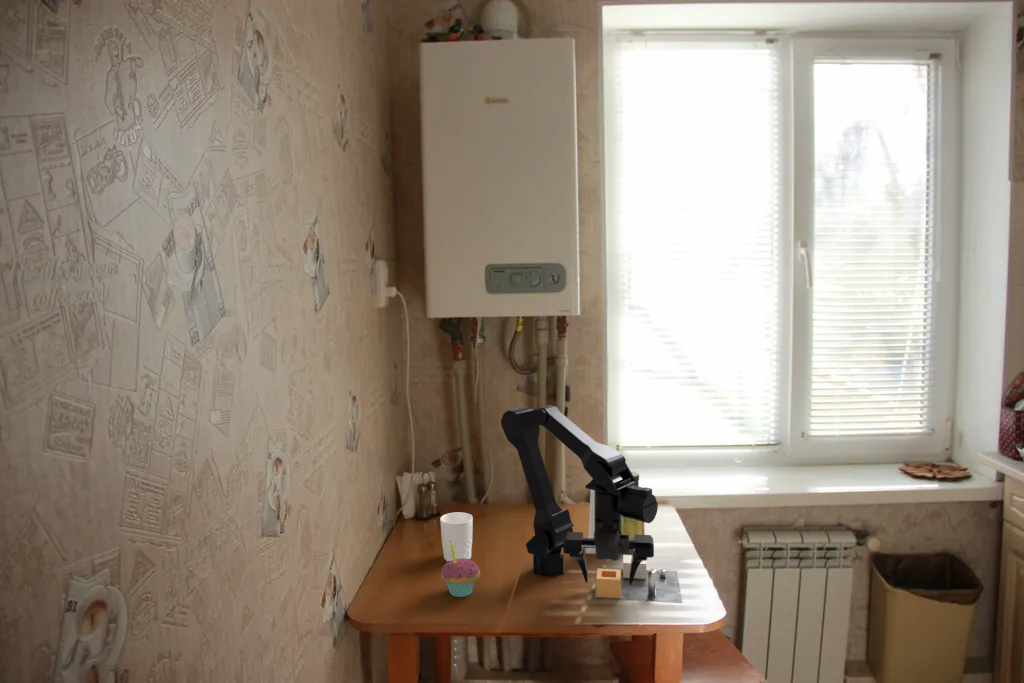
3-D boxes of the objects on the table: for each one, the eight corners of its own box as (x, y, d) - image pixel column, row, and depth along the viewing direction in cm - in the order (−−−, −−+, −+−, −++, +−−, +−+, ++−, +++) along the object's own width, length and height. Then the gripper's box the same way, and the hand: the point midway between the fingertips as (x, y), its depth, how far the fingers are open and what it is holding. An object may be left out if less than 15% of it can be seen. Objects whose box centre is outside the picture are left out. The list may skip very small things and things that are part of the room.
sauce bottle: (627, 544, 180) (627, 467, 178) (649, 550, 176) (649, 472, 174) (613, 552, 175) (613, 474, 173) (636, 559, 171) (636, 478, 169)
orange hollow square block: (596, 596, 150) (596, 578, 149) (597, 586, 154) (597, 568, 154) (620, 598, 149) (620, 579, 148) (620, 587, 154) (620, 569, 153)
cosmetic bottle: (599, 546, 179) (599, 461, 177) (616, 554, 174) (615, 466, 172) (581, 552, 176) (580, 465, 173) (597, 560, 171) (596, 471, 168)
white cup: (459, 548, 180) (458, 509, 179) (480, 556, 174) (479, 517, 173) (434, 557, 174) (433, 518, 173) (455, 567, 169) (454, 526, 168)
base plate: (594, 603, 149) (593, 574, 149) (596, 572, 164) (596, 546, 163) (682, 608, 146) (682, 579, 146) (677, 576, 161) (677, 550, 160)
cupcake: (448, 604, 150) (446, 549, 149) (436, 587, 158) (434, 535, 157) (486, 596, 154) (485, 542, 152) (472, 580, 161) (471, 529, 160)
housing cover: (623, 577, 158) (623, 562, 157) (623, 569, 162) (623, 554, 162) (646, 578, 157) (646, 563, 157) (645, 570, 161) (645, 555, 161)
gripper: (560, 524, 143) (561, 598, 145) (655, 527, 140) (654, 603, 142) (564, 505, 154) (565, 574, 156) (652, 508, 151) (652, 578, 153)
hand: (608, 583), depth 151 cm, fingers open, 9 cm apart
